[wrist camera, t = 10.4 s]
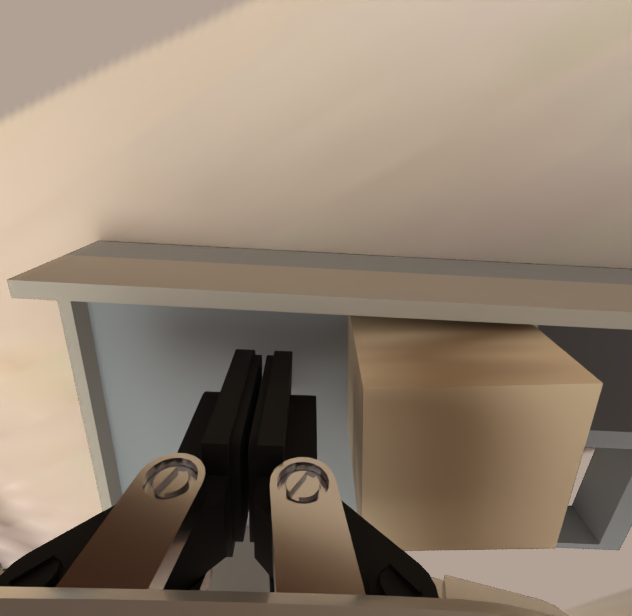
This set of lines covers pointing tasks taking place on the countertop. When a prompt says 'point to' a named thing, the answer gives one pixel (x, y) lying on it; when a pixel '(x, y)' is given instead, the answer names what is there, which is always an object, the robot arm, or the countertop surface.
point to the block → (464, 431)
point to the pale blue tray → (313, 351)
